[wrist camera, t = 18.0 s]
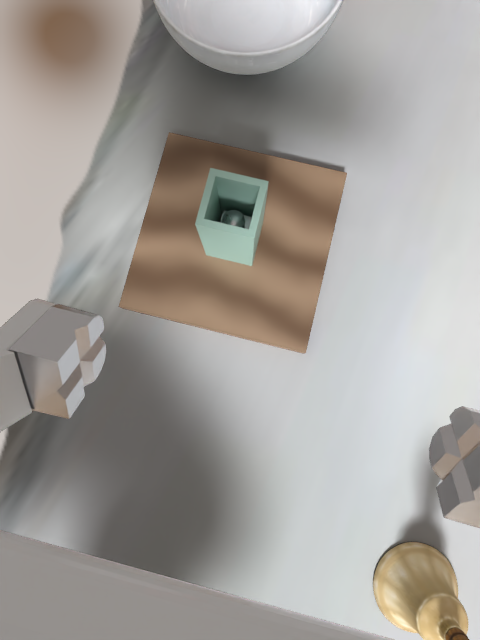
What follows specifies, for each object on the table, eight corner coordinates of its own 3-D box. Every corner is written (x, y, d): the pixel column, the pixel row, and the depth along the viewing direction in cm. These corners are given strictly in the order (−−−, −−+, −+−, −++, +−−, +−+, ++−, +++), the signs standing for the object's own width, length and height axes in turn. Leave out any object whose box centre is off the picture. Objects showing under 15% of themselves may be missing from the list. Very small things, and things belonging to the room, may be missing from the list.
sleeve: (252, 266, 39) (254, 238, 31) (206, 255, 40) (195, 223, 31) (263, 221, 40) (268, 181, 31) (218, 211, 40) (210, 167, 31)
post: (244, 254, 40) (244, 239, 35) (218, 248, 40) (214, 232, 35) (251, 228, 40) (252, 210, 35) (224, 222, 40) (222, 203, 35)
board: (303, 353, 40) (305, 353, 38) (123, 308, 41) (118, 306, 39) (343, 179, 42) (346, 172, 41) (171, 140, 43) (168, 132, 41)
